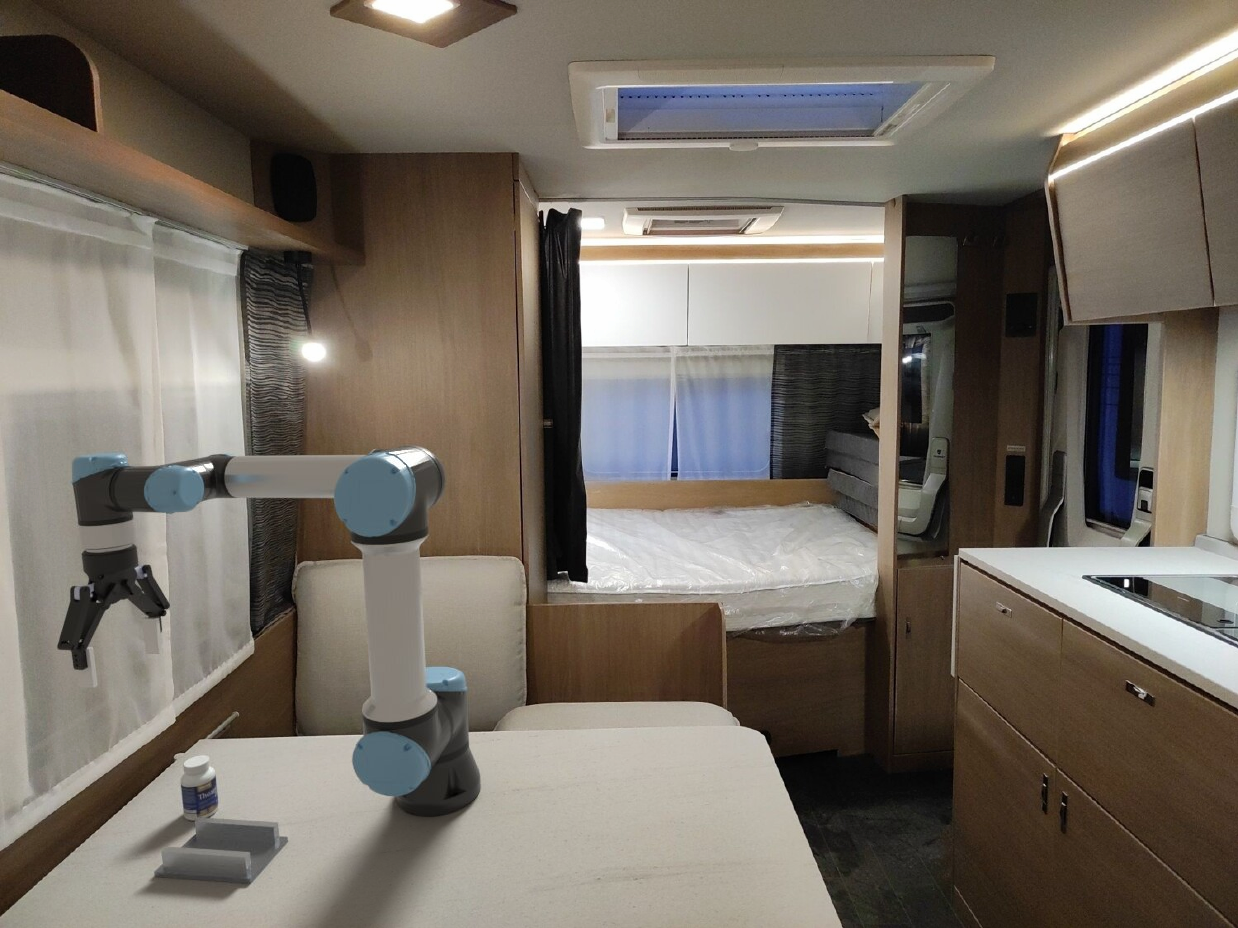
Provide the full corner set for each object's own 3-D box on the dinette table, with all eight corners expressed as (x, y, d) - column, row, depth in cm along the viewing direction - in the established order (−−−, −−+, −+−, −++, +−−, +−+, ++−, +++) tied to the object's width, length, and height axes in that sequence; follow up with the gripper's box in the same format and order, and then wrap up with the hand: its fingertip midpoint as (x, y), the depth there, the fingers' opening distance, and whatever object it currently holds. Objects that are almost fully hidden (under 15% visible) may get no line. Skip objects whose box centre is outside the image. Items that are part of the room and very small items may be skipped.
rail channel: (287, 841, 120) (286, 819, 120) (250, 883, 110) (248, 860, 110) (199, 835, 122) (197, 814, 122) (154, 876, 112) (152, 853, 112)
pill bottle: (203, 823, 126) (198, 770, 124) (176, 819, 127) (171, 767, 125) (226, 804, 131) (221, 754, 129) (200, 801, 132) (195, 751, 131)
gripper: (148, 529, 133) (160, 640, 136) (16, 566, 108) (34, 701, 111) (185, 530, 132) (196, 641, 134) (60, 568, 107) (77, 703, 110)
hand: (123, 669), depth 123 cm, fingers open, 13 cm apart
